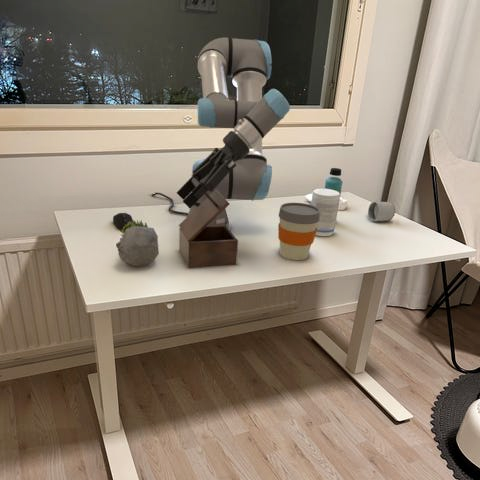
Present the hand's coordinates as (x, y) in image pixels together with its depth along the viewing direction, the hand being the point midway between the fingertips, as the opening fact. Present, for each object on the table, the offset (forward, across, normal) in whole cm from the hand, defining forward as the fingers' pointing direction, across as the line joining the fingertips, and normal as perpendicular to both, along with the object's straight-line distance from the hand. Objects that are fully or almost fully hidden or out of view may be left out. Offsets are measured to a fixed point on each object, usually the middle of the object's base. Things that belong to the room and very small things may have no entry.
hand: (183, 200), depth 133 cm
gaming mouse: (+22, -30, +4) cm, 38 cm away
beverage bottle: (-31, -26, +58) cm, 70 cm away
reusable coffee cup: (-12, +2, +38) cm, 40 cm away
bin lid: (-1, 0, +8) cm, 8 cm away
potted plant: (+23, -2, +3) cm, 23 cm away
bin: (+7, 0, +18) cm, 20 cm away
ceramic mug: (-47, -25, +73) cm, 91 cm away
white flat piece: (-38, -47, +65) cm, 89 cm away
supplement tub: (-25, -15, +52) cm, 59 cm away
